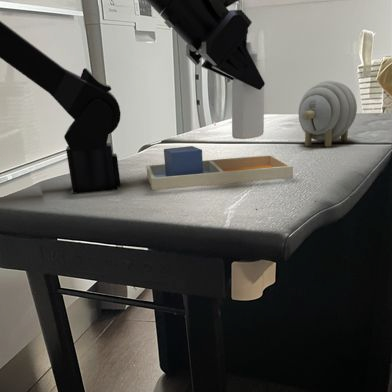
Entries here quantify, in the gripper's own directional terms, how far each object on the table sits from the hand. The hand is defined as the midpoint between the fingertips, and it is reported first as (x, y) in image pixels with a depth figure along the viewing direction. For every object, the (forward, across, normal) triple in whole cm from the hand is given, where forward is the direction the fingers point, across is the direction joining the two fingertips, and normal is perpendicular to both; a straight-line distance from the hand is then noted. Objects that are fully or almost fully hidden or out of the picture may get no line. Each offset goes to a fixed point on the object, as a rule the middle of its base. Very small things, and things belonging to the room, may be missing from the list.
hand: (257, 86), depth 77 cm
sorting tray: (+4, 0, +13) cm, 14 cm away
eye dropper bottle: (+4, 0, +6) cm, 7 cm away
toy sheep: (+23, +26, -6) cm, 35 cm away
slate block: (0, -2, +16) cm, 16 cm away
